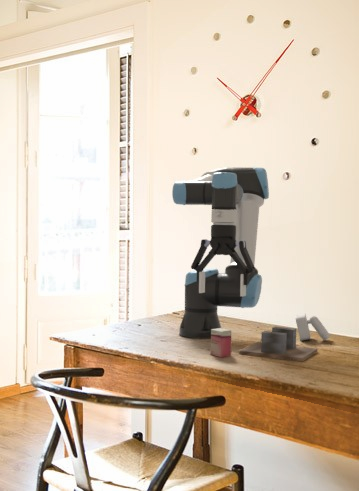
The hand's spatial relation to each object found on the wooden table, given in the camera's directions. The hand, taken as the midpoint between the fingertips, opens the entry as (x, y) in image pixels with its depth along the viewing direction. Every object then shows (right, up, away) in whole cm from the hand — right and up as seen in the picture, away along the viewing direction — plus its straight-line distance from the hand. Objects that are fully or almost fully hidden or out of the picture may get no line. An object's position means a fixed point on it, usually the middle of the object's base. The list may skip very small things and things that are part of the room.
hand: (222, 294), depth 193 cm
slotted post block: (+18, -19, +6) cm, 27 cm away
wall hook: (+33, -18, +28) cm, 47 cm away
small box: (0, -19, +1) cm, 19 cm away
